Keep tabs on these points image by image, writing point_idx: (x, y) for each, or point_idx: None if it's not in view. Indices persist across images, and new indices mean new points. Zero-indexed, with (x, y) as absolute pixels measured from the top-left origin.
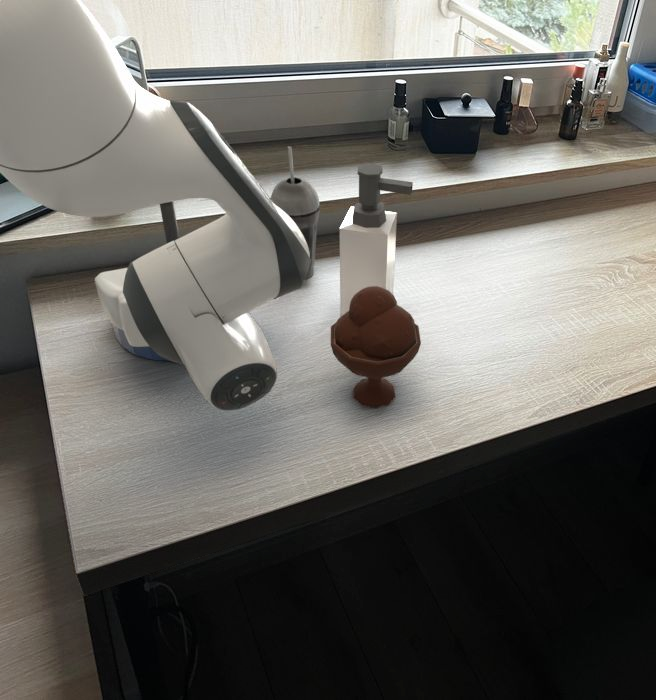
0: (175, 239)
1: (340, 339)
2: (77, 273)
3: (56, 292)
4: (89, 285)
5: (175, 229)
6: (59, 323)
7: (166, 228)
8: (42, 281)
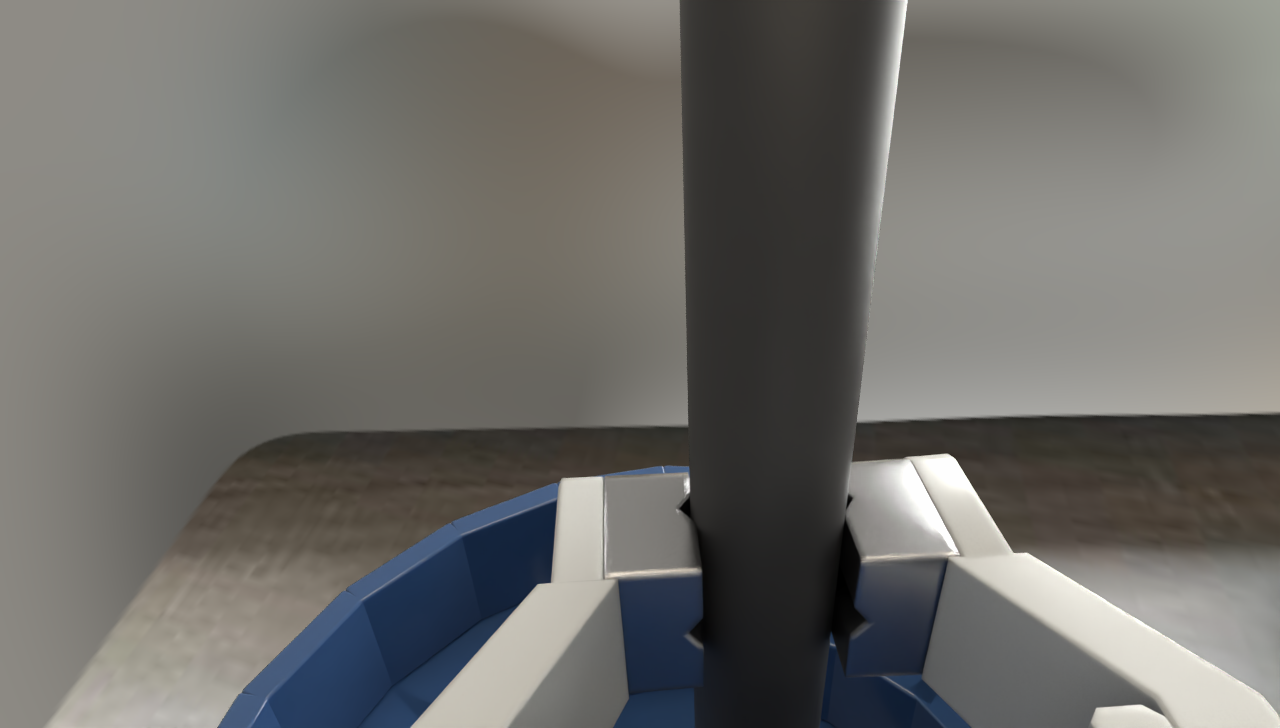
0: (810, 422)
1: None
2: (389, 434)
3: (266, 510)
4: (392, 499)
5: (847, 274)
6: (132, 714)
7: (715, 243)
8: (266, 448)
